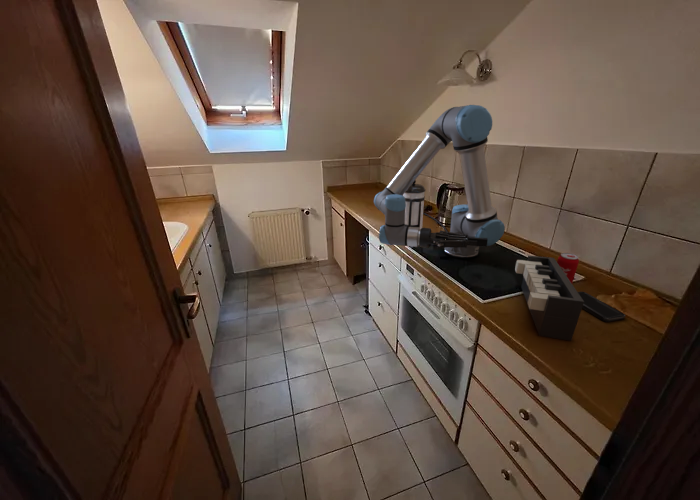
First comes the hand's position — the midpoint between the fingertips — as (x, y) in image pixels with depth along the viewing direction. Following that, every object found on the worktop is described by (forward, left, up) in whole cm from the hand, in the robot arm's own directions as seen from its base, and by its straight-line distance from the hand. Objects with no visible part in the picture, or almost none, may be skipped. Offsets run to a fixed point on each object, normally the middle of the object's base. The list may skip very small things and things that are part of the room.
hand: (486, 242), depth 106 cm
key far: (+6, +13, -10) cm, 18 cm away
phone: (+19, +29, -18) cm, 39 cm away
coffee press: (-61, -8, -18) cm, 64 cm away
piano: (+18, +12, -18) cm, 28 cm away
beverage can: (+4, +30, -18) cm, 35 cm away
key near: (+27, +3, -10) cm, 29 cm away
